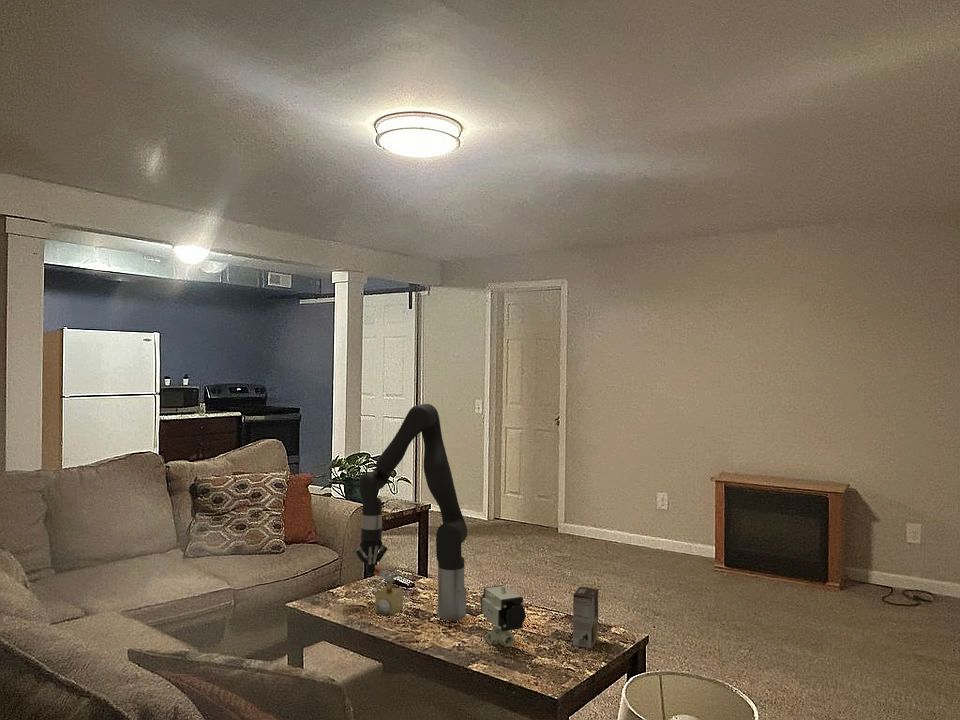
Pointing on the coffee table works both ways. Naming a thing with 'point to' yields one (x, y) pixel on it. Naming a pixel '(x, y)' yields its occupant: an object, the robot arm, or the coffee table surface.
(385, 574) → the valve lever
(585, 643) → the coffee box
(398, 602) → the valve housing
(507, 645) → the ball valve
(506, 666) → the coffee table surface
